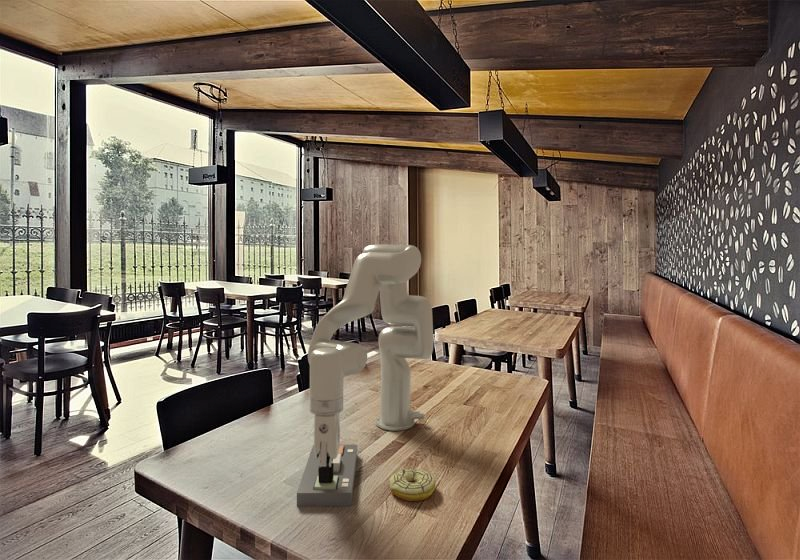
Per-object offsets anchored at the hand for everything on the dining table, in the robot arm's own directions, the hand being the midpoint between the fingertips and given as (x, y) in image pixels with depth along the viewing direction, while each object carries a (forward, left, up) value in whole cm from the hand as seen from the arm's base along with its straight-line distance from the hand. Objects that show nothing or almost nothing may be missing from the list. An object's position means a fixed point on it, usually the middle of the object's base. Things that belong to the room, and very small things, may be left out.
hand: (326, 481), depth 103 cm
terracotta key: (0, -16, -3) cm, 16 cm away
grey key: (0, -8, -2) cm, 8 cm away
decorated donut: (-20, -2, -4) cm, 21 cm away
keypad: (0, -8, -4) cm, 9 cm away
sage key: (0, 0, -3) cm, 3 cm away
